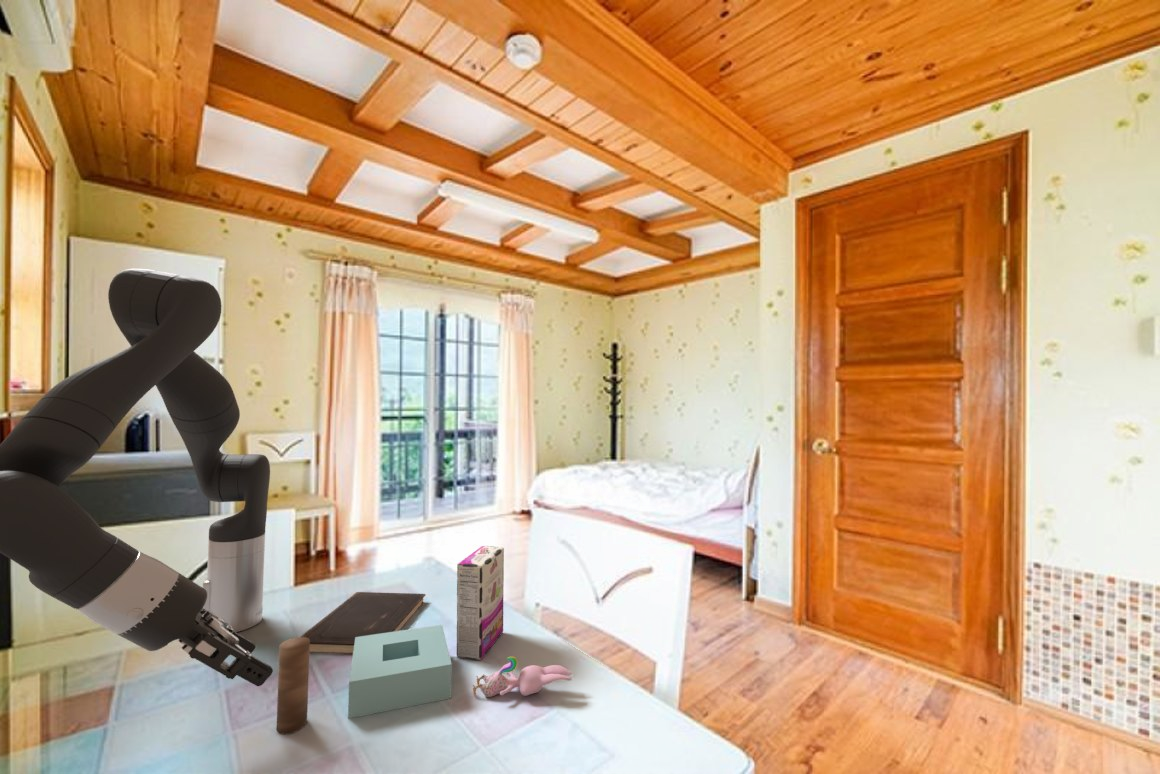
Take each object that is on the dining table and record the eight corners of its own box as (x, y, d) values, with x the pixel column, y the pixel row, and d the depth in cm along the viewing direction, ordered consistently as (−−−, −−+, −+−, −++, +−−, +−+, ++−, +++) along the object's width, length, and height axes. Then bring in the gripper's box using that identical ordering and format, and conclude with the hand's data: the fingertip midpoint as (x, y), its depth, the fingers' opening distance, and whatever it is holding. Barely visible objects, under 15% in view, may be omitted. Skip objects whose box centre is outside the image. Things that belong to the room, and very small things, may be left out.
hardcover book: (425, 604, 109) (425, 593, 109) (379, 657, 86) (380, 644, 86) (354, 602, 110) (354, 591, 110) (290, 654, 87) (290, 641, 87)
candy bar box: (479, 629, 96) (481, 544, 97) (503, 632, 95) (505, 546, 96) (453, 658, 85) (456, 562, 86) (480, 661, 84) (483, 565, 85)
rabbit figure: (472, 714, 72) (572, 699, 72) (466, 673, 72) (566, 658, 72) (481, 689, 79) (574, 676, 78) (476, 651, 79) (568, 638, 79)
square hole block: (347, 718, 69) (349, 681, 69) (354, 667, 82) (355, 637, 82) (450, 698, 74) (451, 664, 74) (441, 653, 87) (442, 624, 87)
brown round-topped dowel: (273, 736, 65) (276, 651, 65) (279, 720, 68) (282, 639, 68) (304, 730, 66) (307, 647, 66) (308, 714, 69) (311, 635, 70)
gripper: (185, 587, 53) (298, 656, 61) (167, 557, 63) (266, 620, 71) (116, 654, 49) (246, 719, 57) (108, 611, 59) (220, 672, 67)
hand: (257, 664), depth 64 cm, fingers open, 8 cm apart
